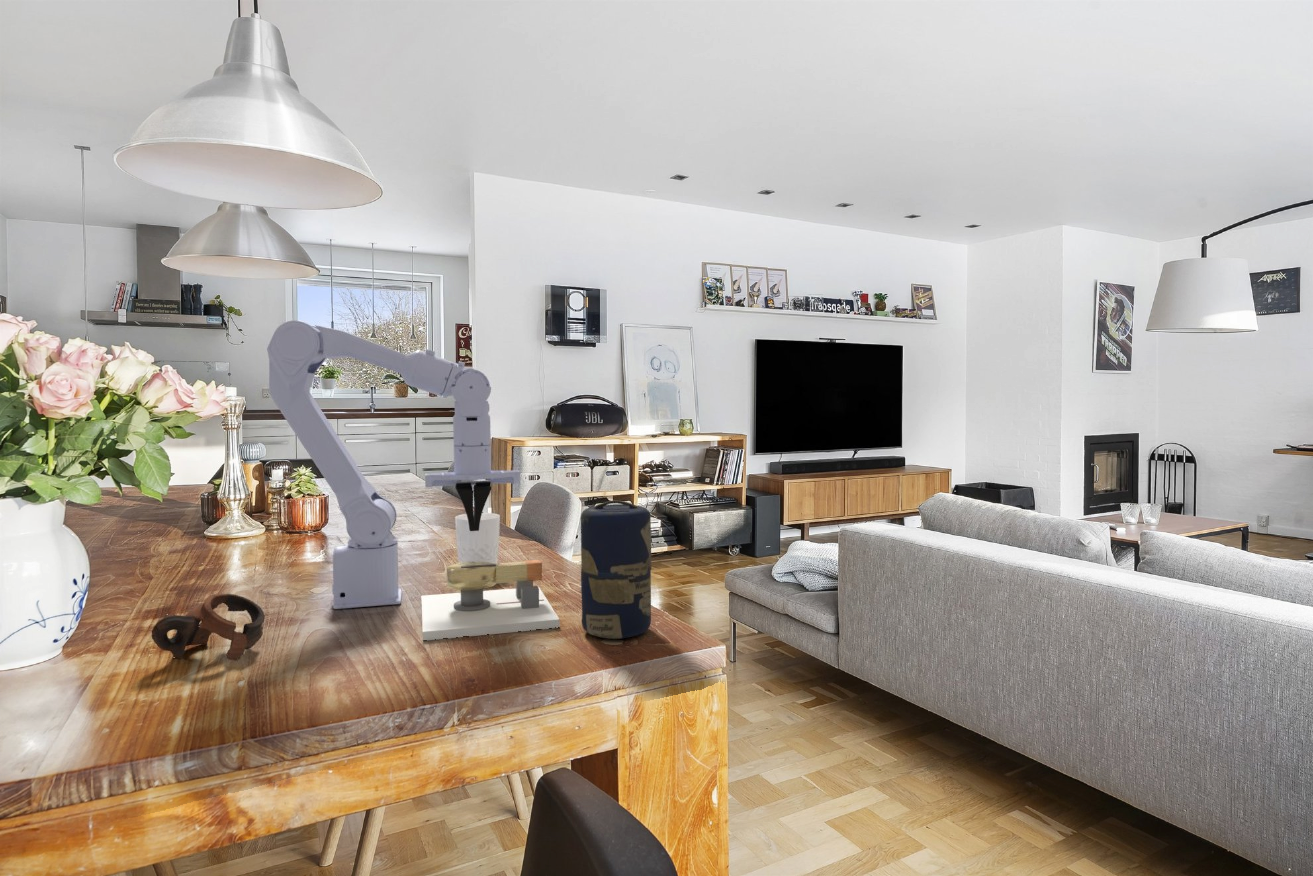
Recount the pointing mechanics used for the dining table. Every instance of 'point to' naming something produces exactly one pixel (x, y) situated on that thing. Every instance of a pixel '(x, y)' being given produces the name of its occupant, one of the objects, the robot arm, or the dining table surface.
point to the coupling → (491, 574)
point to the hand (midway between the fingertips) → (474, 530)
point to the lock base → (486, 612)
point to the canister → (616, 570)
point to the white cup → (478, 539)
